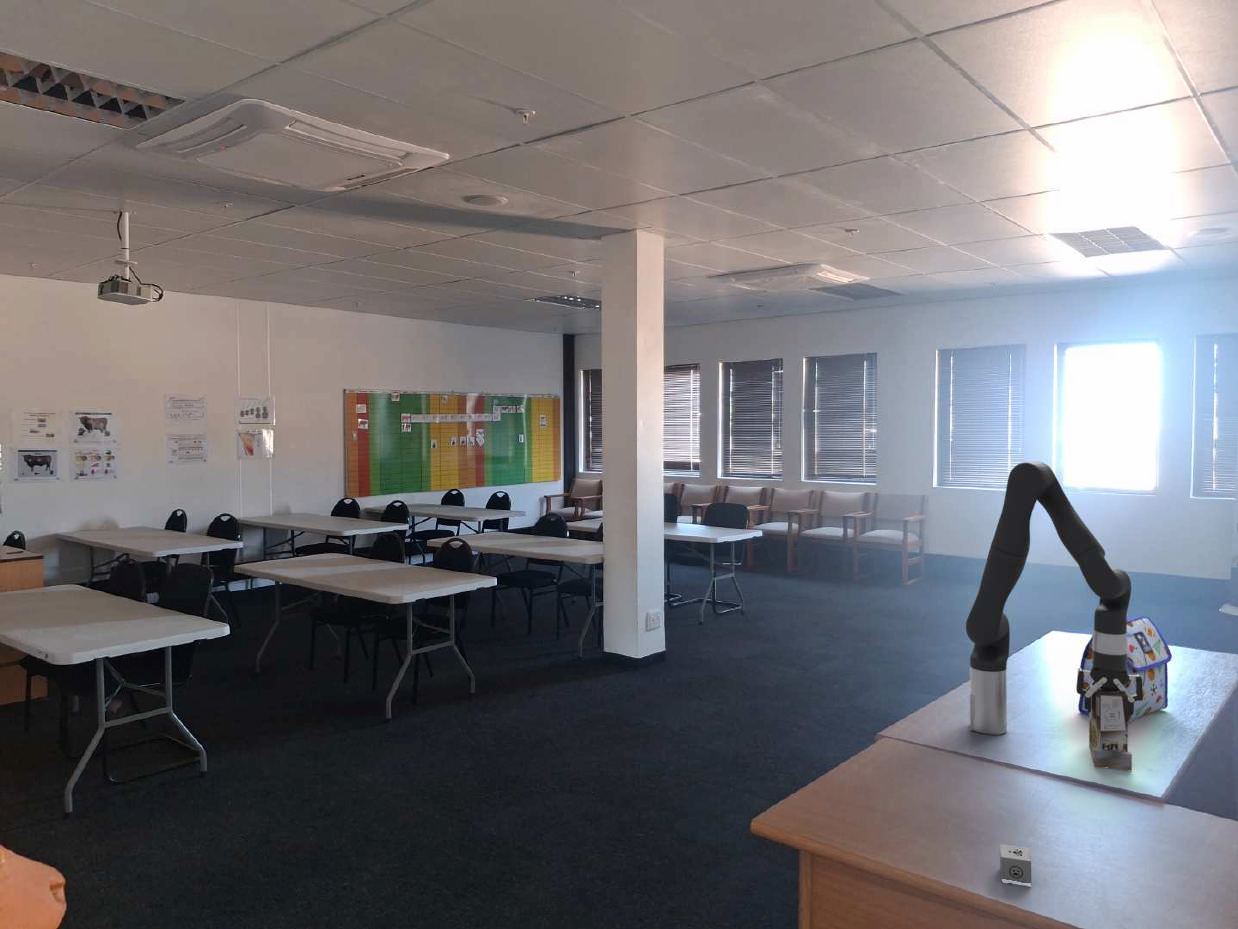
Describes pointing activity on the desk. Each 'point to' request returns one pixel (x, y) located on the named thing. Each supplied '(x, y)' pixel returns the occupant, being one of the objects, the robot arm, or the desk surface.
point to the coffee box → (1109, 720)
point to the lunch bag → (1139, 666)
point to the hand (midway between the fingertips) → (1108, 713)
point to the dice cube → (1015, 863)
